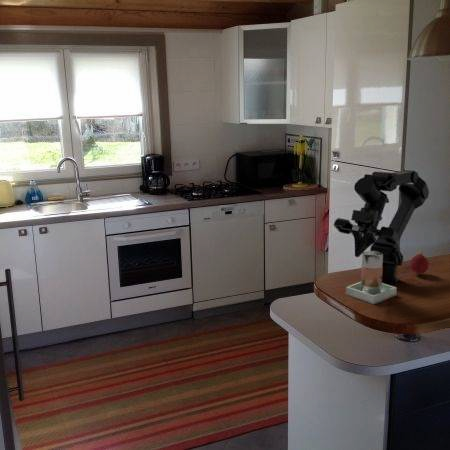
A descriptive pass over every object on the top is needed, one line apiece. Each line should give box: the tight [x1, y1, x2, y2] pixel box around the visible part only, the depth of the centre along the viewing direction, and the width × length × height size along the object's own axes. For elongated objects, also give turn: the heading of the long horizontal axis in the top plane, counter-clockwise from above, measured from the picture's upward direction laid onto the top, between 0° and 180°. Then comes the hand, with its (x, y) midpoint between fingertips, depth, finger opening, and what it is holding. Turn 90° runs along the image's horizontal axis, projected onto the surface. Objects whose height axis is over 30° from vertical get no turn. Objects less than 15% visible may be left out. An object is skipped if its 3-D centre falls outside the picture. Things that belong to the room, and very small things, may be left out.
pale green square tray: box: [345, 281, 398, 305], centre depth 167 cm, size 11×11×2 cm
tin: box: [360, 250, 383, 295], centre depth 165 cm, size 6×6×12 cm
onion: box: [409, 251, 430, 276], centre depth 181 cm, size 6×6×8 cm
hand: (356, 256), depth 161 cm, fingers closed
